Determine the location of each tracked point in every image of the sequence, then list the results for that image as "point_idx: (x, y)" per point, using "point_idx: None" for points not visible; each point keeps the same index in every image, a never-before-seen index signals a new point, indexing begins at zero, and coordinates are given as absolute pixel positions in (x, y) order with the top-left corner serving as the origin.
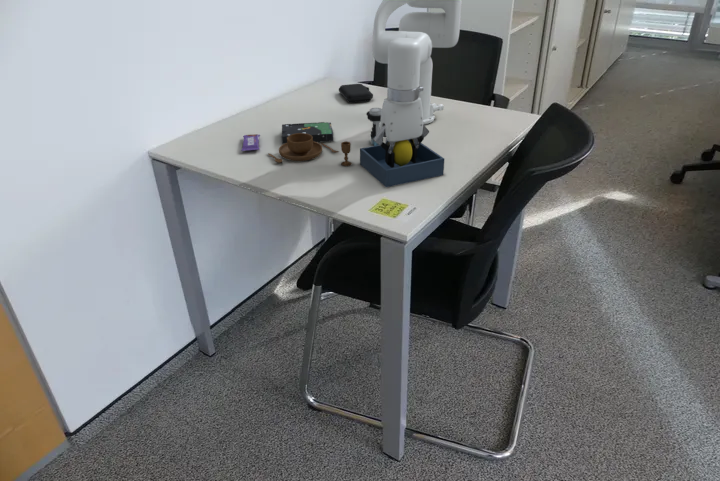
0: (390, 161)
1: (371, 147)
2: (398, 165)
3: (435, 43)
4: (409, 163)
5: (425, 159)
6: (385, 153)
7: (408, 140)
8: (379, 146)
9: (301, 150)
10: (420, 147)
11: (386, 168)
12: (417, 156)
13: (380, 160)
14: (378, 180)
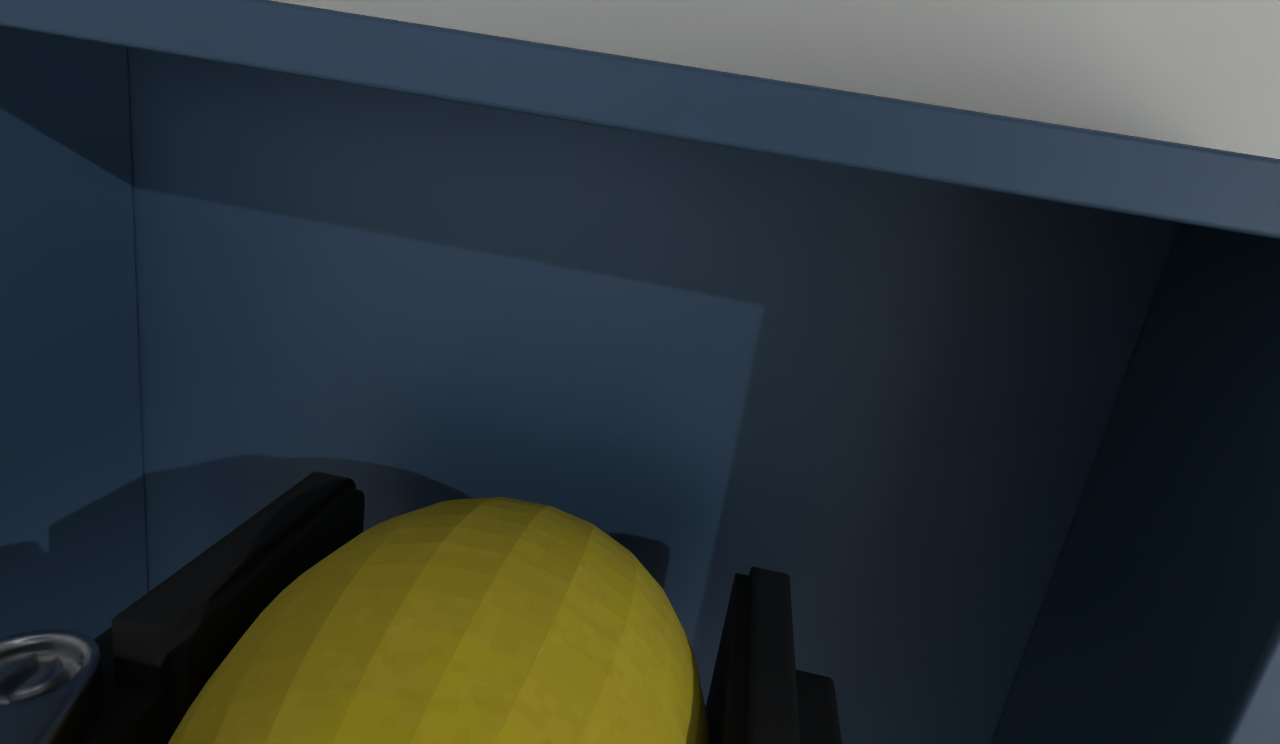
0: None
1: (35, 30)
2: (594, 459)
3: None
4: (793, 509)
5: (1048, 680)
6: (111, 632)
7: (1240, 227)
8: (271, 67)
9: None
10: (1209, 600)
11: (375, 431)
12: (1122, 397)
13: (454, 104)
14: None
